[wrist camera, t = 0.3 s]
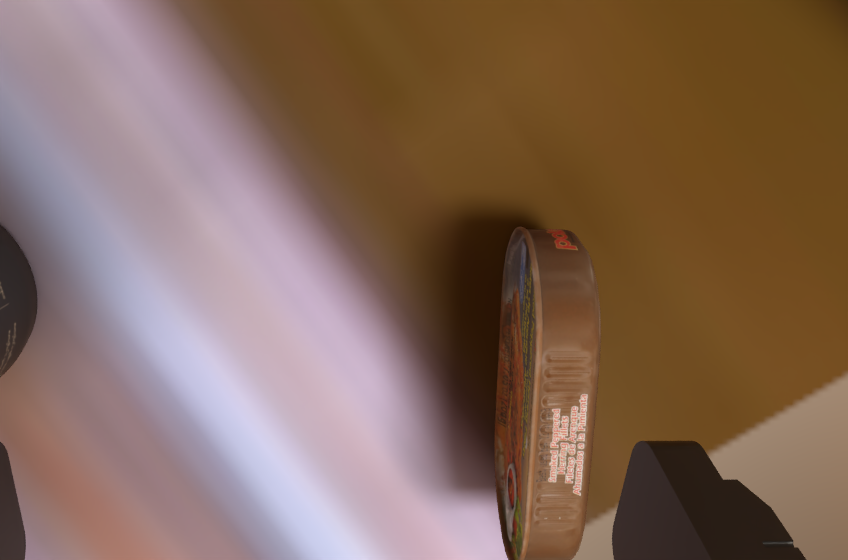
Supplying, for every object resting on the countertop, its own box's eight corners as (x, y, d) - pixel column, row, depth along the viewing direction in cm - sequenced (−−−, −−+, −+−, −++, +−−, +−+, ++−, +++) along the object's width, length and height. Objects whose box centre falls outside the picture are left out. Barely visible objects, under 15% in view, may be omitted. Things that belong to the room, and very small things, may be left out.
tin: (505, 207, 36) (525, 257, 28) (574, 209, 36) (614, 259, 27) (490, 494, 40) (503, 609, 32) (552, 496, 40) (580, 612, 32)
